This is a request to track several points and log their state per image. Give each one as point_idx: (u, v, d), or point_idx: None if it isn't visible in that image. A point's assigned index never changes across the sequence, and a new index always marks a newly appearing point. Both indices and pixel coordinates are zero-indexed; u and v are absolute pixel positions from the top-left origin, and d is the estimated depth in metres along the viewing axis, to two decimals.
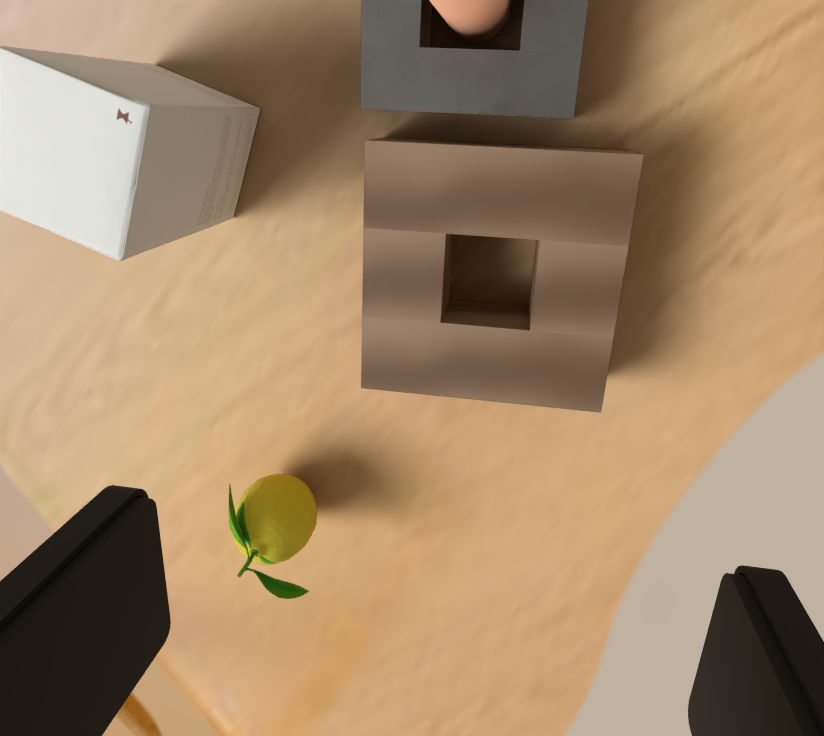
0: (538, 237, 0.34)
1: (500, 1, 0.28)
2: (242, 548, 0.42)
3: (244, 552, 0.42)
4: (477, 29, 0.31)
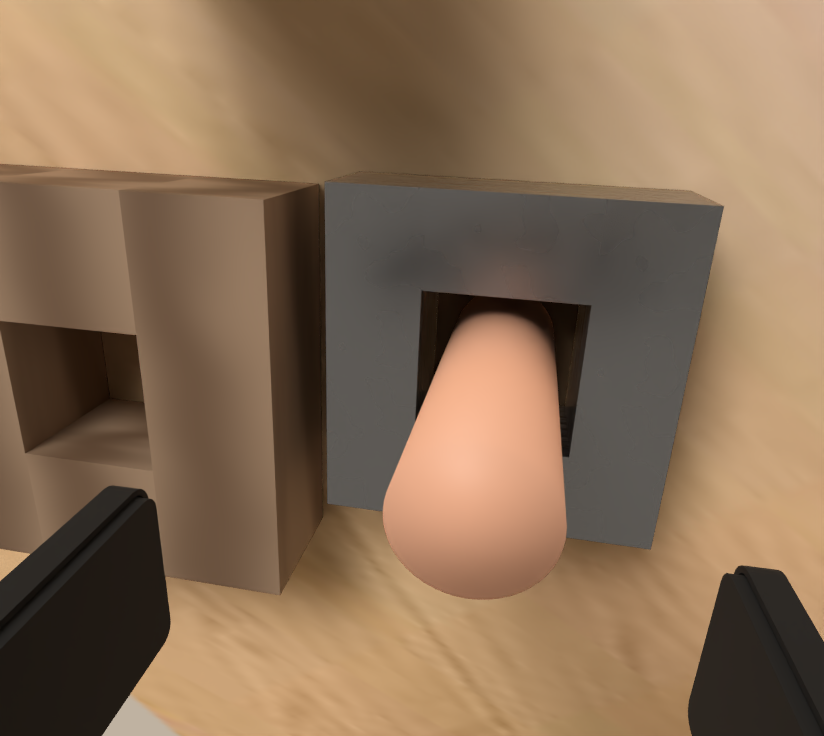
0: (155, 469, 0.22)
1: None
2: None
3: None
4: None
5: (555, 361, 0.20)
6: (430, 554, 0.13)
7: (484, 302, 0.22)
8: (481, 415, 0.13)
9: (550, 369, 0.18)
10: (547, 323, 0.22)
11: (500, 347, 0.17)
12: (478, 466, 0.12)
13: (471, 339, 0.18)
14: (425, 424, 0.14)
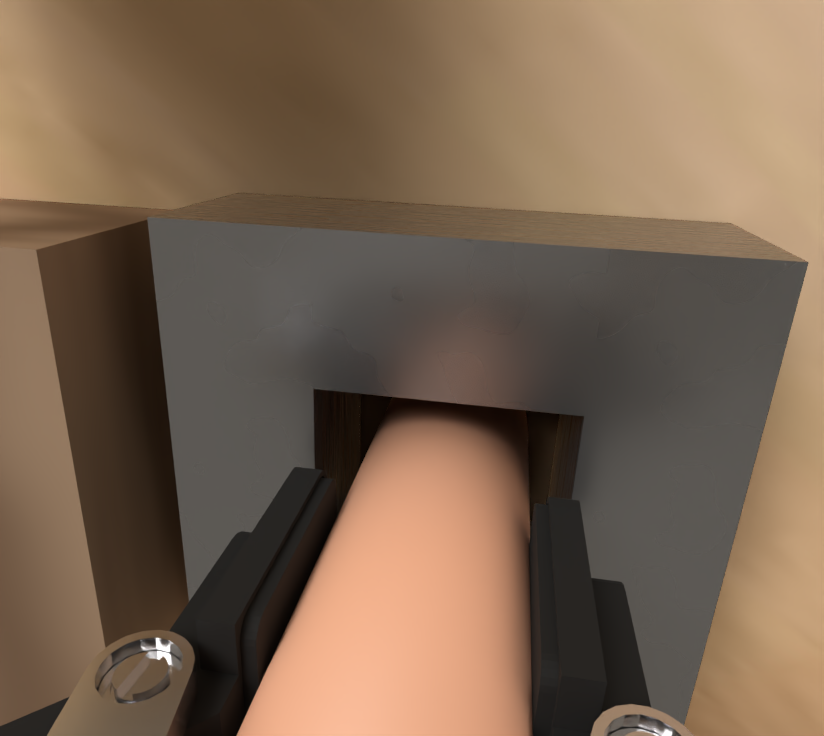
0: None
1: None
2: None
3: None
4: None
5: (527, 493, 0.13)
6: None
7: None
8: None
9: (517, 533, 0.11)
10: (516, 420, 0.14)
11: (428, 510, 0.10)
12: None
13: (386, 481, 0.11)
14: None
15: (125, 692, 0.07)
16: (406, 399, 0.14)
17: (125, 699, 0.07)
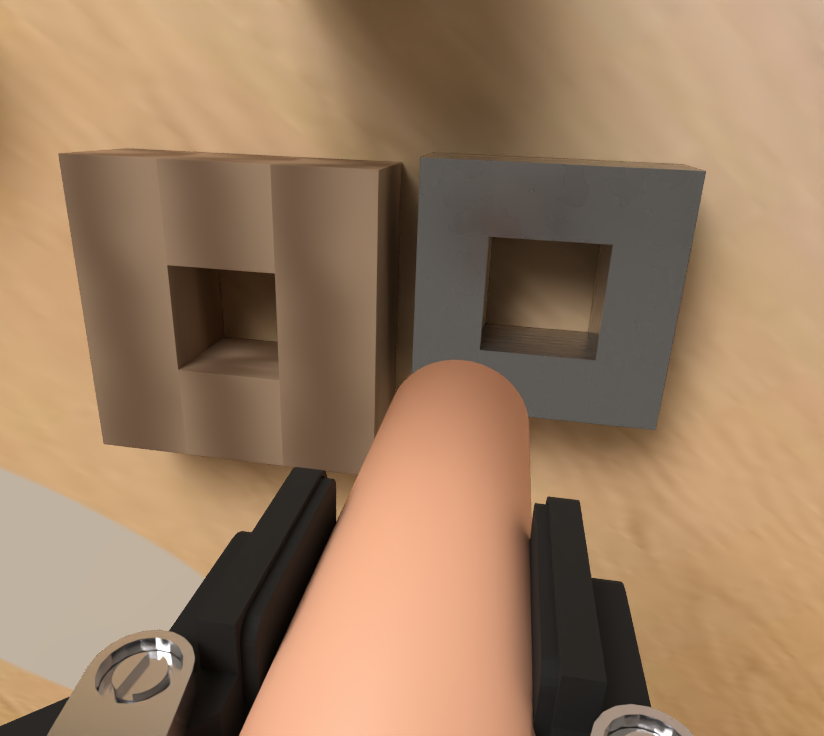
0: (282, 378, 0.30)
1: None
2: None
3: None
4: None
5: (529, 490, 0.13)
6: None
7: (424, 387, 0.15)
8: None
9: (519, 530, 0.11)
10: (518, 418, 0.15)
11: (431, 507, 0.10)
12: None
13: (389, 478, 0.11)
14: None
15: (125, 692, 0.07)
16: (408, 397, 0.14)
17: (125, 699, 0.07)
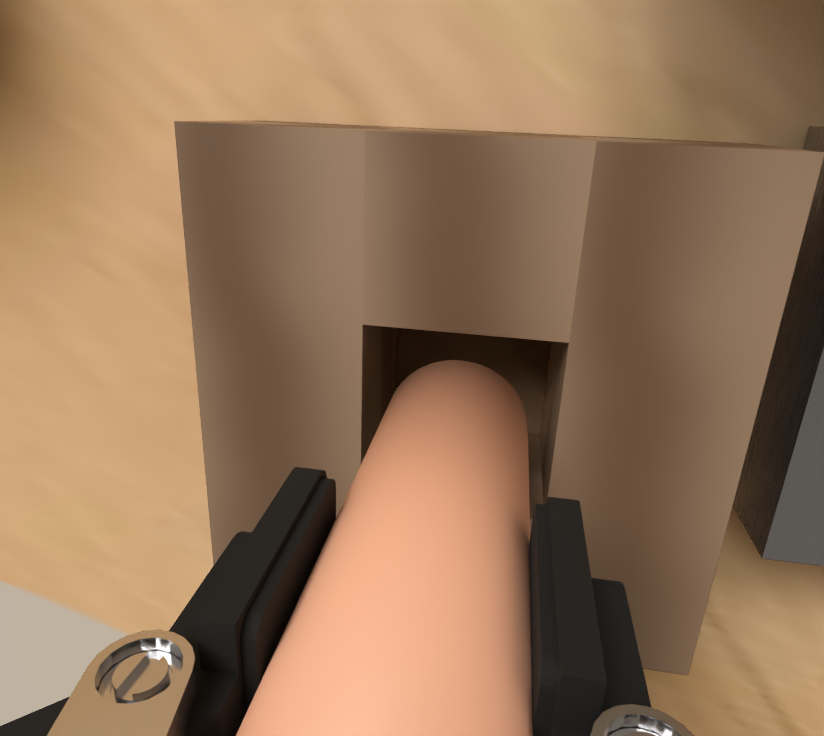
0: None
1: None
2: None
3: None
4: None
5: (527, 491, 0.13)
6: None
7: (422, 388, 0.15)
8: None
9: (517, 531, 0.11)
10: (516, 419, 0.14)
11: (429, 508, 0.10)
12: None
13: (387, 478, 0.11)
14: None
15: (125, 692, 0.07)
16: (406, 398, 0.14)
17: (125, 699, 0.07)
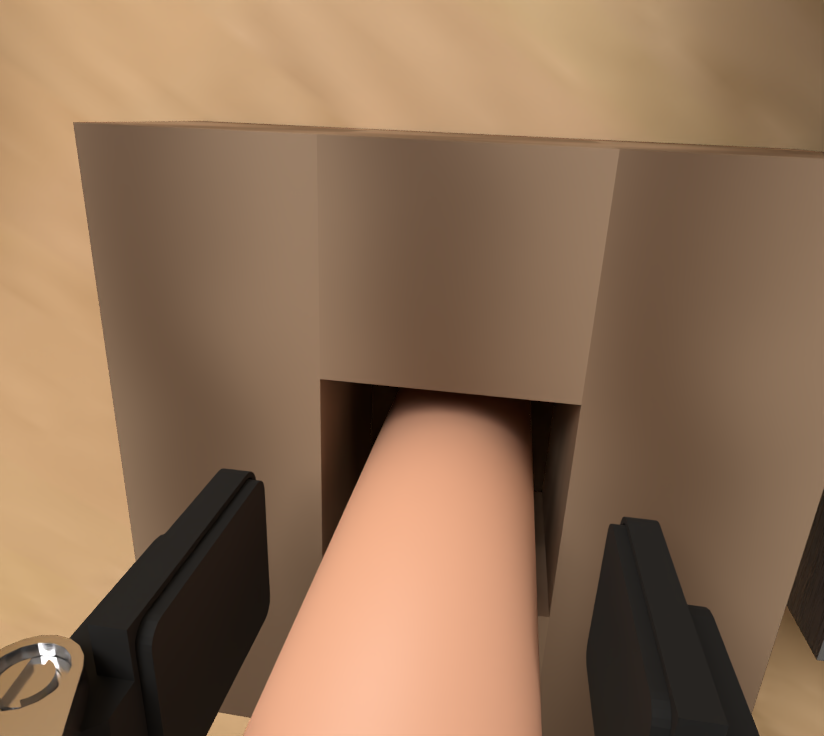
0: (556, 614, 0.14)
1: None
2: None
3: None
4: None
5: (531, 456, 0.14)
6: None
7: None
8: (391, 648, 0.07)
9: (522, 485, 0.12)
10: None
11: (445, 461, 0.11)
12: None
13: (405, 439, 0.12)
14: (298, 647, 0.08)
15: (11, 700, 0.07)
16: None
17: (12, 707, 0.07)
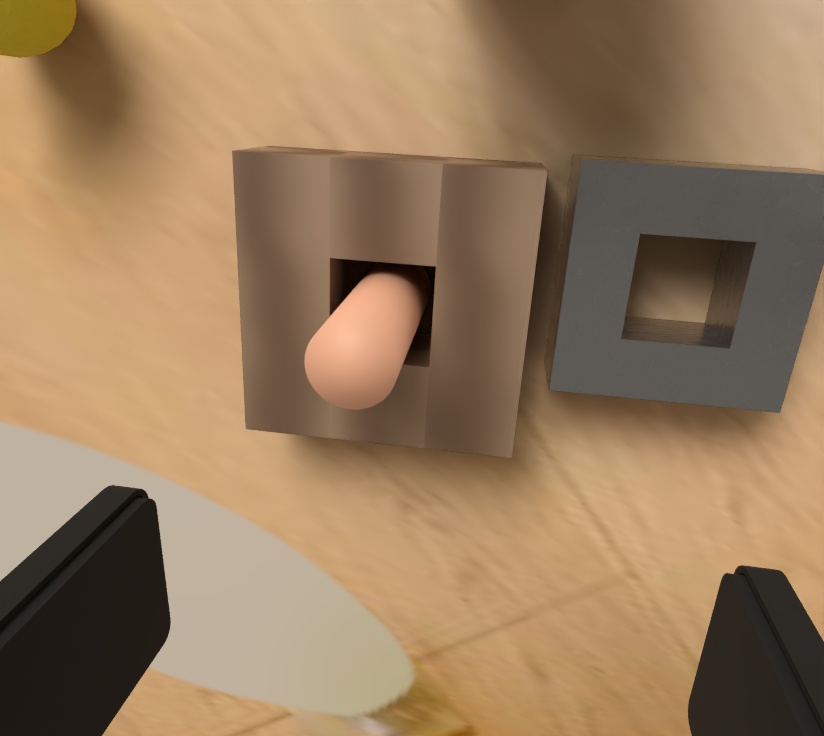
0: (432, 365, 0.31)
1: None
2: None
3: None
4: None
5: (422, 298, 0.32)
6: (330, 384, 0.25)
7: (381, 263, 0.33)
8: (356, 311, 0.25)
9: (412, 299, 0.30)
10: (421, 277, 0.34)
11: (379, 284, 0.29)
12: (352, 333, 0.24)
13: (365, 282, 0.30)
14: (328, 319, 0.25)
15: None
16: (374, 267, 0.33)
17: None
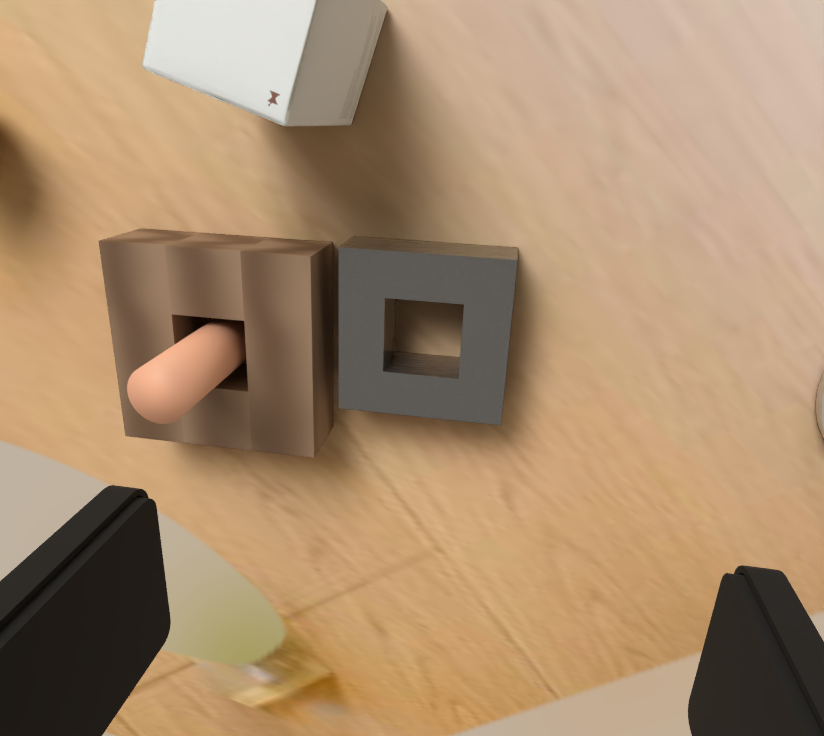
0: (250, 390, 0.43)
1: None
2: None
3: None
4: None
5: (244, 341, 0.44)
6: (145, 407, 0.37)
7: None
8: (163, 358, 0.37)
9: (227, 344, 0.42)
10: None
11: (200, 334, 0.41)
12: (154, 373, 0.36)
13: (195, 331, 0.42)
14: None
15: None
16: None
17: None
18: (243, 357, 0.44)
